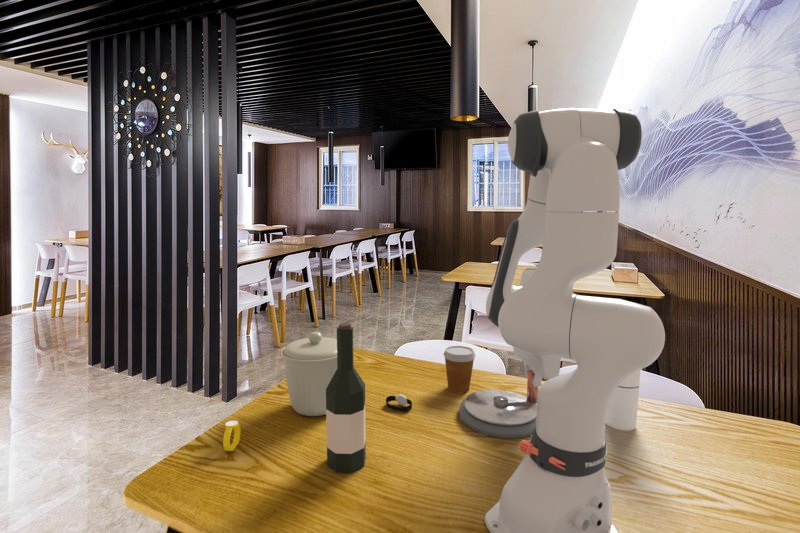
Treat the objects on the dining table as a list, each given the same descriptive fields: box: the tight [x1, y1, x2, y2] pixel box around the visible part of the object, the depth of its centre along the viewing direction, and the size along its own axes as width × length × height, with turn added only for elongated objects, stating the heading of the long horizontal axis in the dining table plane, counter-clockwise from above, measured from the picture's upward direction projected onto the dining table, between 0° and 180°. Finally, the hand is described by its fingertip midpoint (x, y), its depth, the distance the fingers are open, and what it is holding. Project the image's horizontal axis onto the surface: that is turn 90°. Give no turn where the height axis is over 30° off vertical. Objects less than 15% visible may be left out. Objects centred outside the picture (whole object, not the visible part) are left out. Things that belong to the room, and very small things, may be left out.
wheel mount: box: [459, 398, 536, 440], centre depth 110 cm, size 21×21×2 cm
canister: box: [280, 331, 337, 417], centre depth 114 cm, size 18×18×21 cm
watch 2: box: [385, 393, 413, 412], centre depth 116 cm, size 8×5×4 cm, turn 63°
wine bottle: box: [325, 322, 367, 474], centre depth 89 cm, size 8×8×30 cm
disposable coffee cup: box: [443, 345, 476, 394], centre depth 128 cm, size 10×10×12 cm
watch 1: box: [222, 420, 242, 452], centre depth 96 cm, size 6×3×6 cm, turn 177°
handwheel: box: [464, 370, 539, 427], centre depth 110 cm, size 19×18×10 cm
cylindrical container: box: [605, 369, 642, 431], centre depth 106 cm, size 7×7×25 cm
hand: (533, 382), depth 110 cm, fingers closed on handwheel, 3 cm apart
